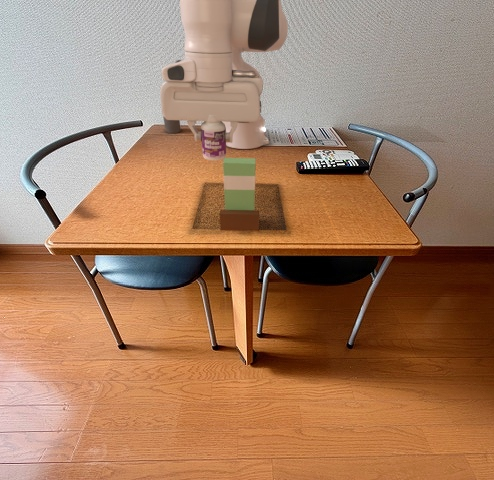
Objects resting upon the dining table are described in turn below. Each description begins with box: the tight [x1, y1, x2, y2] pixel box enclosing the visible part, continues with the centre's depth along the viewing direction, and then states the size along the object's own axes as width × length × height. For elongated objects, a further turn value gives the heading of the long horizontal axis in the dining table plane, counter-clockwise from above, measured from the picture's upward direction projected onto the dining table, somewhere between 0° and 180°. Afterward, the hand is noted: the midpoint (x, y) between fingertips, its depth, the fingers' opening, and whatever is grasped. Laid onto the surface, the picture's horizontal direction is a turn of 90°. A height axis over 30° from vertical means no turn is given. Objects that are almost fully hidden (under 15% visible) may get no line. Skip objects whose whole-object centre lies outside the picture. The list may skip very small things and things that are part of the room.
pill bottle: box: [200, 115, 227, 162], centre depth 63 cm, size 5×5×10 cm
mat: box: [191, 182, 287, 232], centre depth 68 cm, size 22×20×5 cm
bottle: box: [162, 115, 182, 134], centre depth 109 cm, size 6×6×15 cm
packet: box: [222, 157, 257, 210], centre depth 58 cm, size 2×6×14 cm, turn 91°
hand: (213, 141), depth 64 cm, fingers closed on pill bottle, 5 cm apart
